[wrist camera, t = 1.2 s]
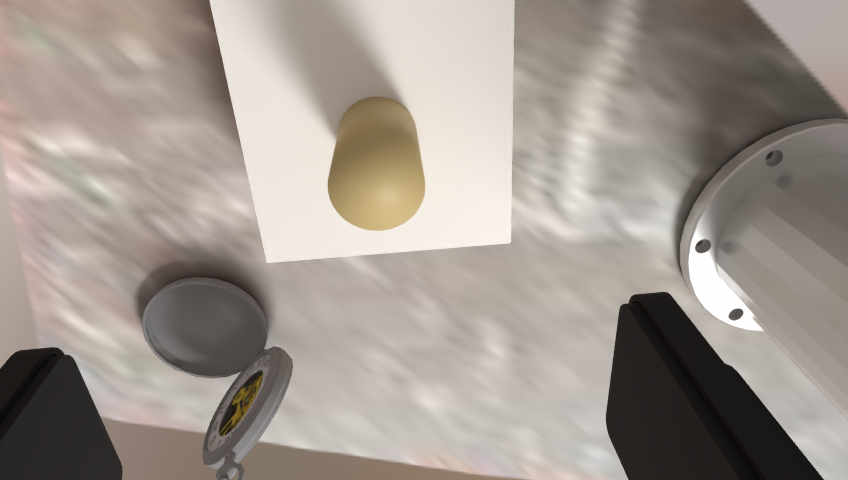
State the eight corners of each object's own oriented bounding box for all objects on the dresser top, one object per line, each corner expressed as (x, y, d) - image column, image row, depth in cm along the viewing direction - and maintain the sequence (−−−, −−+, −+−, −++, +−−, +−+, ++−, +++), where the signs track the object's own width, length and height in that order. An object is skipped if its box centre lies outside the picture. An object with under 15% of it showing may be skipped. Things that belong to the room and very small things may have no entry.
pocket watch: (144, 265, 31) (51, 401, 22) (305, 281, 32) (276, 417, 23) (152, 382, 35) (75, 537, 26) (296, 393, 36) (268, 545, 27)
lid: (510, -24, 21) (552, -7, 16) (507, 234, 26) (538, 311, 21) (215, -4, 20) (159, 21, 15) (270, 253, 25) (242, 336, 20)
